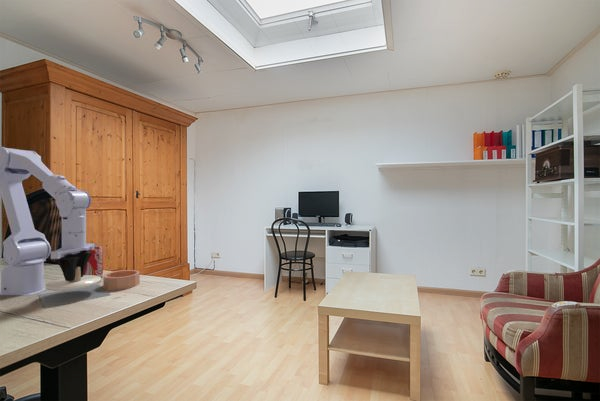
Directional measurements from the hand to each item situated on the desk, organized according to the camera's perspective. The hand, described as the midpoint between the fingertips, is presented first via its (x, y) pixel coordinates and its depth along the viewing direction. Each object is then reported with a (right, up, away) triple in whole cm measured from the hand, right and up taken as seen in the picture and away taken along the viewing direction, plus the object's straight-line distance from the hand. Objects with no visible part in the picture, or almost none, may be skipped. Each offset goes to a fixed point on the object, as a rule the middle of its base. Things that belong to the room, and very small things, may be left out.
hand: (74, 278), depth 89 cm
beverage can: (-7, -5, +18) cm, 20 cm away
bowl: (+8, -5, +10) cm, 14 cm away
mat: (0, -5, 0) cm, 5 cm away
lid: (0, -2, 0) cm, 2 cm away
